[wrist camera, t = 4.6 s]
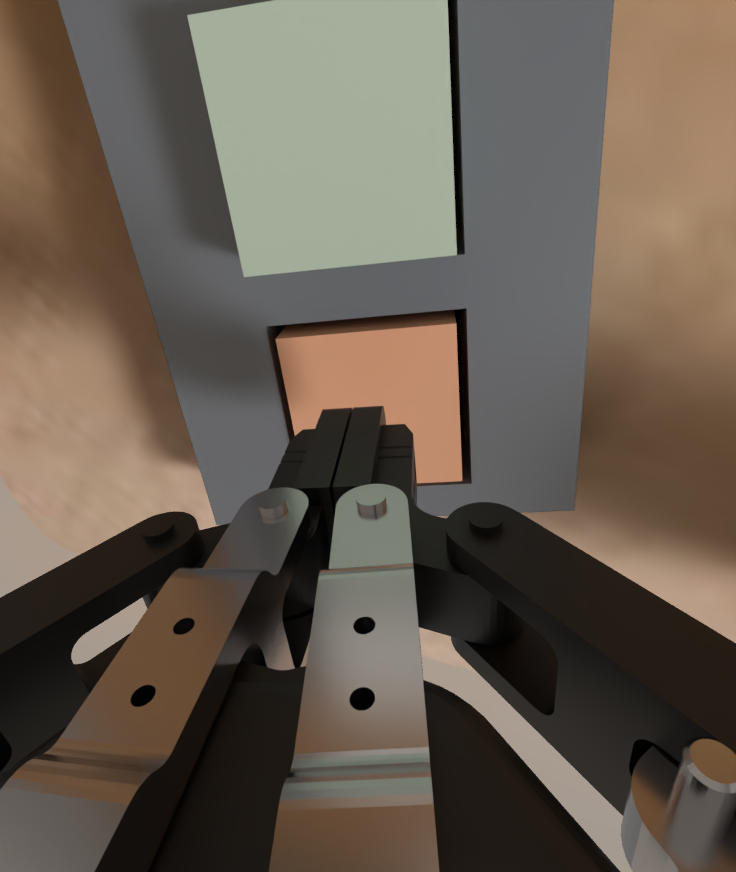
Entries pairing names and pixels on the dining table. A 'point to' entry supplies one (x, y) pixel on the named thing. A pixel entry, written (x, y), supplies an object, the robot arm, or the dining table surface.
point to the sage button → (331, 130)
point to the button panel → (382, 282)
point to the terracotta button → (382, 379)
